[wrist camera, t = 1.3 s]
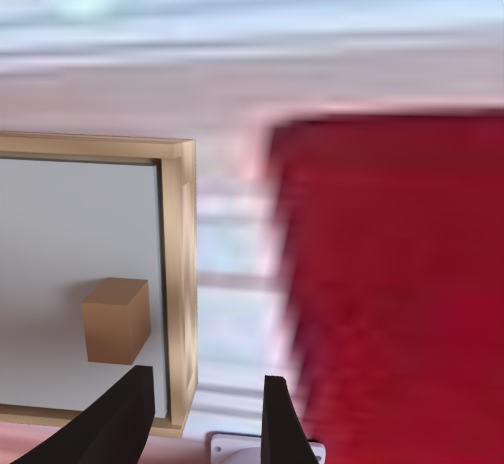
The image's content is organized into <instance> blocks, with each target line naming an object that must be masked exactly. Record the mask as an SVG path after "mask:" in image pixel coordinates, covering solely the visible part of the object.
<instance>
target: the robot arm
mask: <svg viewBox="0 0 504 464" xmlns="http://www.w3.org/2000/svg"><path fill="white" fill-rule="evenodd" d="M154 416H155V395H154V377H153V366H144V365H135V366H134V367H133V368H132V369H130V370H129V371H128V372H127V373H126V374H125V375H124V376H123V377H122V378H120V379H119V380H118V381H117V382H116V383H115V384H114V385H113V386H112V387H110V388H109V389H108V390H107V391H106V392H105V393H104V394H103V395H101V396H100V397H99V398H98V399H97V400H96V401H94V402H93V403H92V404H91V405H90V406H89V407H88V408H86V409H85V410H84V411H83V412H82V413H80V414H79V415H78V416H77V417H75V418H74V419H73V420H71V421H70V422H69V423H68V424H66V425H65V426H64V427H63V428H61V429H60V430H59V431H58V432H56V433H55V434H53V435H52V436H51V437H49V438H48V439H47V440H45V441H44V442H42V443H41V444H39V445H38V446H37V447H35V448H34V449H32V450H31V451H29V452H28V453H26V454H25V455H23V456H22V457H20V458H19V459H17V460H15V461H14V462H12V463H10V464H137V463H138V460H139V458H140V456H141V454H142V451H143V449H144V447H145V444H146V441H147V438H148V435H149V432H150V429H151V426H152V423H153V419H154ZM217 446H218V447H217ZM325 454H326V452H325V447H324V445H323V444H321V443H314V442H308V440H307V438H306V436H305V434H304V432H303V429H302V427H301V425H300V422H299V420H298V418H297V415H296V412H295V410H294V407H293V404H292V402H291V399H290V395H289V392H288V388H287V384H286V380H285V379H284V378H283V377H280V376H267V375H265V383H264V399H263V415H262V433H261V438H258V437H247V436H236V435H225V434H215V435H213V436H212V439H211V464H324V461H325Z"/></svg>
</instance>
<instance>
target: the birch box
mask: <svg viewBox="0 0 504 464" xmlns="http://www.w3.org/2000/svg"><path fill="white" fill-rule="evenodd" d="M0 156H9V157H29V158H50V159H70V160H90V161H111V162H131V163H151V164H160V170H161V195H162V220H163V245H164V270H165V295H166V320H167V345H168V370H169V395H170V405H169V408H168V411H167V413H166V416H165V418H157V417H154V419H153V423H152V426H151V429H150V432H149V435H152V436H163V437H174V438H181V437H182V434H183V431H184V427H185V424H186V421H187V417H188V414H189V411H190V407H191V404H192V401H193V398H194V394H195V391H196V388H197V384H198V345H197V235H196V140H189V139H167V138H144V137H122V136H100V135H78V134H56V133H34V132H12V131H0ZM82 412H83V411H78V410H66V409H55V408H44V407H33V406H21V405H10V404H0V422H10V423H21V424H32V425H42V426H53V427H64V426H65V425H66V424H68V423H69V422H70V421H71V420H73V419H74V418H75V417H77V416H78V415H79V414H80V413H82Z"/></svg>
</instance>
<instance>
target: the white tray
mask: <svg viewBox="0 0 504 464" xmlns="http://www.w3.org/2000/svg"><path fill="white" fill-rule="evenodd" d="M135 365H144V366H153V377H154V395H155V416H154V417H157V418H165V416H166V413H167V411H168V408H169V405H170V395H169V370H168V345H167V320H166V295H165V270H164V245H163V220H162V195H161V170H160V164H151V163H131V162H111V161H90V160H70V159H50V158H29V157H9V156H0V404H10V405H21V406H33V407H44V408H55V409H66V410H78V411H84V410H85V409H86V408H88V407H89V406H90V405H91V404H92V403H93V402H94V401H96V400H97V399H98V398H99V397H100V396H101V395H103V394H104V393H105V392H106V391H107V390H108V389H109V388H110V387H112V386H113V385H114V384H115V383H116V382H117V381H118V380H119V379H120V378H122V377H123V376H124V375H125V374H126V373H127V372H128V371H129V370H130V369H132V368H133V367H134V366H135Z"/></svg>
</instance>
